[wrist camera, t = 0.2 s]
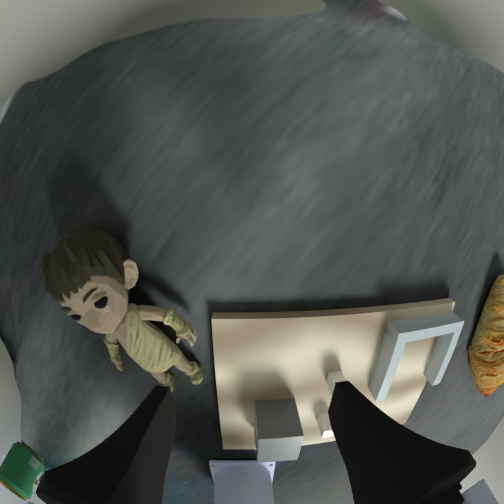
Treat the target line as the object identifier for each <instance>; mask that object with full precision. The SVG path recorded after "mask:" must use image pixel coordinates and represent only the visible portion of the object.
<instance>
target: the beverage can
mask: <svg viewBox="0 0 504 504" xmlns="http://www.w3.org/2000/svg"><path fill="white" fill-rule="evenodd" d="M43 469H44V461H43V460H42V459H41V457H40V456H39V455H37V454H36V453H35V452H34V451H33V450H31V449H30V448H29V447H27V446H26V445H24V444H23V443H20V442H17V443H14V444H13V446H12V448H11V449H10V451H9V452H8V454H7V456H6V458H5V460H4V461H3V463H2V465H1V467H0V483H2V484H3V485H4V486H5V487H6V488H8V489H9V490H10V491H11V492H13V493H14V494H16V495H17V496H19V497H20V498H22V499H23V500H25V501H26V500H27V499H30V498H31V496H32V493H33V491H34V489H35V487H36V484H37V482H38V480H39V478H40V476H41V473H42V471H43Z"/></svg>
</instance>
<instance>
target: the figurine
mask: <svg viewBox="0 0 504 504" xmlns="http://www.w3.org/2000/svg"><path fill="white" fill-rule="evenodd" d="M138 272H139V271H138V268H137V266H136V263H135V262H134V261H132V260H131V259H130V257H129V255H128V254H127V253H126V252H125V251H124V250H123V248H122V246H121V244H120V243H119V242H118V241H117V240H116V239H115V238H114V237H113V236H112V235H110V234H109V233H108V232H107V231H105V230H102V229H100V228H98V227H96V226H94V225H82V226H80V227H77V228H75V229H74V230H73V231H71V232H70V233H69V234H68V235H67V237H66V238H64V239H62V240H60V241H59V243H58V244H57V245H56V247H55V248H54V250H53V251H52V252H50V253H47V254H46V255H45V256H44V258H43V261H42V265H41V274H42V279H43V282H44V285H45V288H46V289H47V291H48V292H49V294H50V295H51V296H52V297H53V298H54V299H55V300H57V301H59V302H60V305H61V306H62V310H66V311H67V316H70V315H71V316H72V318H73V319H74V320H75V321H76V322H78V323H80V324H83V325H84V326H86V327H87V328H88V329H90V330H92V331H94V332H96V333H102V334H106V335H105V337H104V339H103V340H104V343H105V344H106V346H107V348H108V350H109V353H110V356H111V361H112V362H114V363H115V365H116V367H117V369H118V370H120V371H123V366H124V365H121V364H122V362H123V361H122V360H121V359H120V358H121V354H120V351H119V344H118V341H119V342H120V343H121V345H122V346H123V347H124V349H125V350H126V352H127V354H128V355H129V356H130V357H131V358H132V359H133V360H134V361H135V362H136V363H137V364H139V365H140V366H141V367H142V368H143V369H144V370H146V371H148V372H150V373H151V374H152V376H153V377H154V378H155V379H157V381H158V382H159V383H160V384H163V386H168V387H170V390H171V392H173V390H174V383H173V380H174V377H173V375H172V374H170V373H169V372H168V371H167V370H168V369H169V368H170V367H171V366H172V365H174V366H175V367H177V368H178V369H179V370H180V371H183V372H184V373H185V374H186V375H188V376H190V381H191V382H192V383H193V384H199V383H201V381H202V379H203V374H202V368H201V366H200V365H198V364H197V363H196V362H195V361H190V362H189V361H188V360H187V359H186V357H185V356H184V355H183V354H182V352H181V350H180V349H179V348H178V347H177V345H176V344H175V343H174V342H173V341H172V340H171V339H169V338H168V337H167V336H166V335H165V334H164V333H163V332H162V331H161V330H160V329H159V328H157V327H156V326H155V325H153V324H152V323H151V322H150V321H149V320H153V321H163V323H164V324H165V325H169V326H171V327H172V328H173V329H174V330H175V331H176V336H177V340H176V343H179V342H180V339H181V338H185V339H187V340H188V342H189V344H190V346H191V347H192V346H194V342H195V341H196V336H195V335H196V332H195V330H194V329H193V328H192V327H191V324H189V323H187V322H186V321H185V320H184V319H183V318H182V317H181V316H180V315H179V314H178V313H177V312H176V310H175V309H174V308H173V307H172V308H170V309H168V308H164V307H161V306H150V305H138V306H137V305H136V304H133V303H128V293H129V290H130V289H131V288H132V287H134V286H135V284H136V282H137V280H138ZM191 337H192V339H193V340H192V339H191ZM117 339H118V340H117ZM193 341H194V342H193Z"/></svg>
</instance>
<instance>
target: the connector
mask: <svg viewBox="0 0 504 504" xmlns="http://www.w3.org/2000/svg"><path fill="white" fill-rule="evenodd" d="M303 437H304V434H303V430H302V426H301V422H300V418H299V414H298V410H297V406H296V402H295V398H290V399H276V400H255V421H254V440H255V450H256V454H257V463H259V462H276V461H287V460H297V459H298V456H299V452H300V449H301V445H302V441H303Z"/></svg>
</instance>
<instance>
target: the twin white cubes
mask: <svg viewBox="0 0 504 504" xmlns="http://www.w3.org/2000/svg"><path fill="white" fill-rule="evenodd" d="M341 381H347V380H346V378H345V376H344V374H343V372H342V370H341V371H333V372H328V377H327V381H326V383H327V385H328V388H329V390H330V393H331V395H333V391H334V387H335V383H336V382H341ZM317 424H318V427H319V431H320V434H321V437H322V438H326V437H332V436H334V434H333V432H332V428H331V424H330V420H329V415H328V412H326V413H318V417H317Z"/></svg>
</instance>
